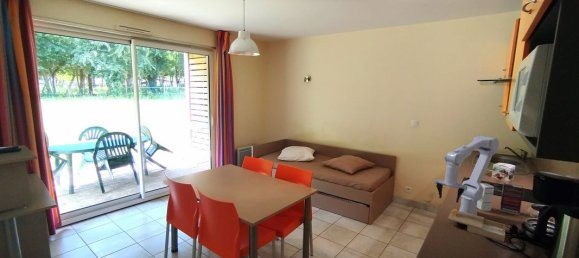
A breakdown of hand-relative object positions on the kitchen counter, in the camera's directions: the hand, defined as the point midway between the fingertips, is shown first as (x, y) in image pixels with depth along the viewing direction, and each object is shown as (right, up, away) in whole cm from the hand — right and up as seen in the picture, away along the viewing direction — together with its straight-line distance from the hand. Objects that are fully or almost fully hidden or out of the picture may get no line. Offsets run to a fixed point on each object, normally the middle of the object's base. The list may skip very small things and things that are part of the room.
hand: (448, 199), depth 139 cm
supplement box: (+42, -10, +12) cm, 45 cm away
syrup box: (+29, -9, +15) cm, 34 cm away
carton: (+12, -12, -10) cm, 20 cm away
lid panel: (+6, -8, -5) cm, 11 cm away
